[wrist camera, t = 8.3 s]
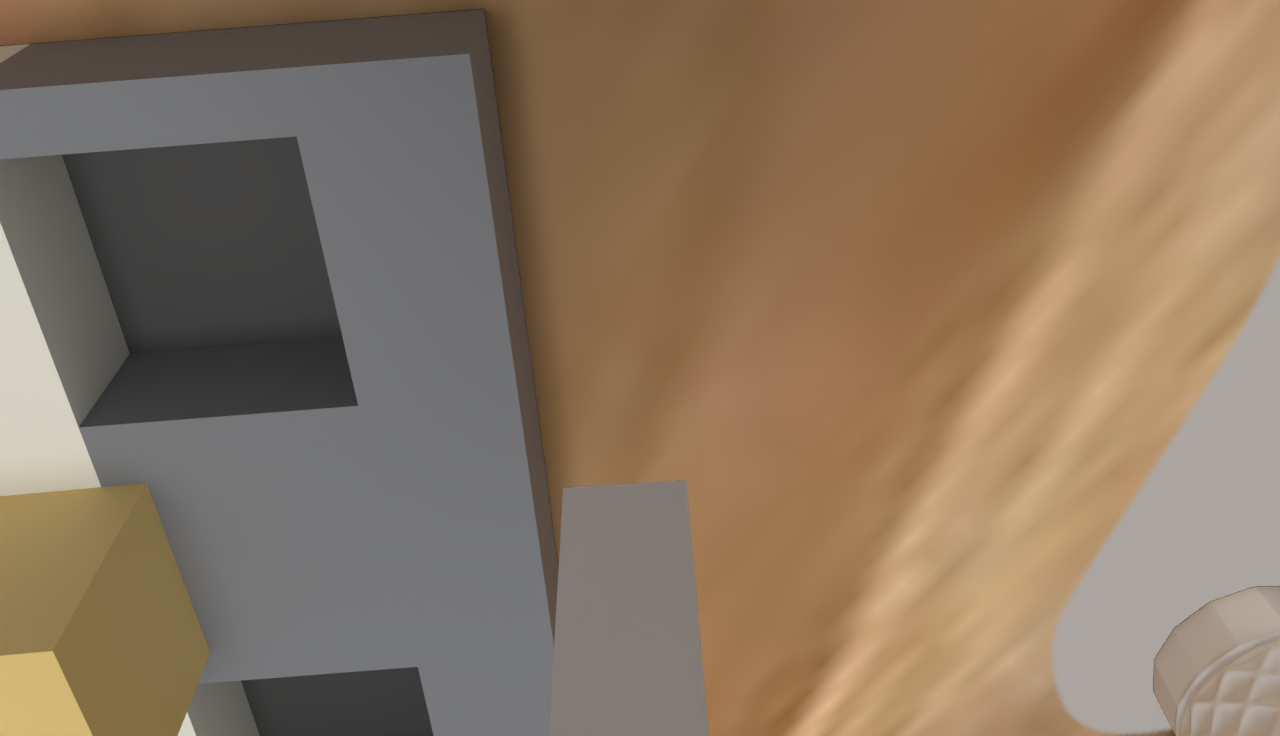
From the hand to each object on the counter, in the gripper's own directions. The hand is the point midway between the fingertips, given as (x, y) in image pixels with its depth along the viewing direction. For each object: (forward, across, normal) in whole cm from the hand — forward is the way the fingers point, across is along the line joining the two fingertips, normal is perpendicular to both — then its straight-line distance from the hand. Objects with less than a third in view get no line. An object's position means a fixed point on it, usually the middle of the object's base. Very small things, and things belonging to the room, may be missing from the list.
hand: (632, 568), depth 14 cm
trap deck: (+17, -12, -10) cm, 23 cm away
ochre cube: (+13, -16, -11) cm, 23 cm away
